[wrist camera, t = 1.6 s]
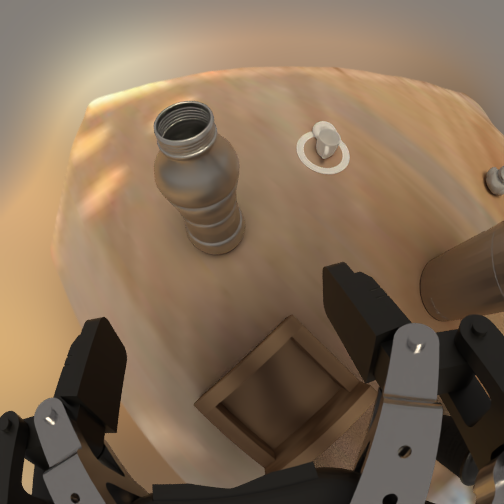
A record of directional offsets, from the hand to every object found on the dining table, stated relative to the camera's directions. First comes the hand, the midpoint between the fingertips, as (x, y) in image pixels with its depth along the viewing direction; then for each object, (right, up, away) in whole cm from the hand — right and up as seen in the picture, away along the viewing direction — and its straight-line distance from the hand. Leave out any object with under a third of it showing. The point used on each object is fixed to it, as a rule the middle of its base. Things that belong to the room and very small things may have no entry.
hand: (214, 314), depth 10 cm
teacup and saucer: (+15, +17, +29) cm, 37 cm away
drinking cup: (+25, -22, +17) cm, 37 cm away
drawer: (+5, -14, +19) cm, 24 cm away
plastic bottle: (-3, +4, +25) cm, 25 cm away
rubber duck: (+48, +15, +28) cm, 57 cm away
